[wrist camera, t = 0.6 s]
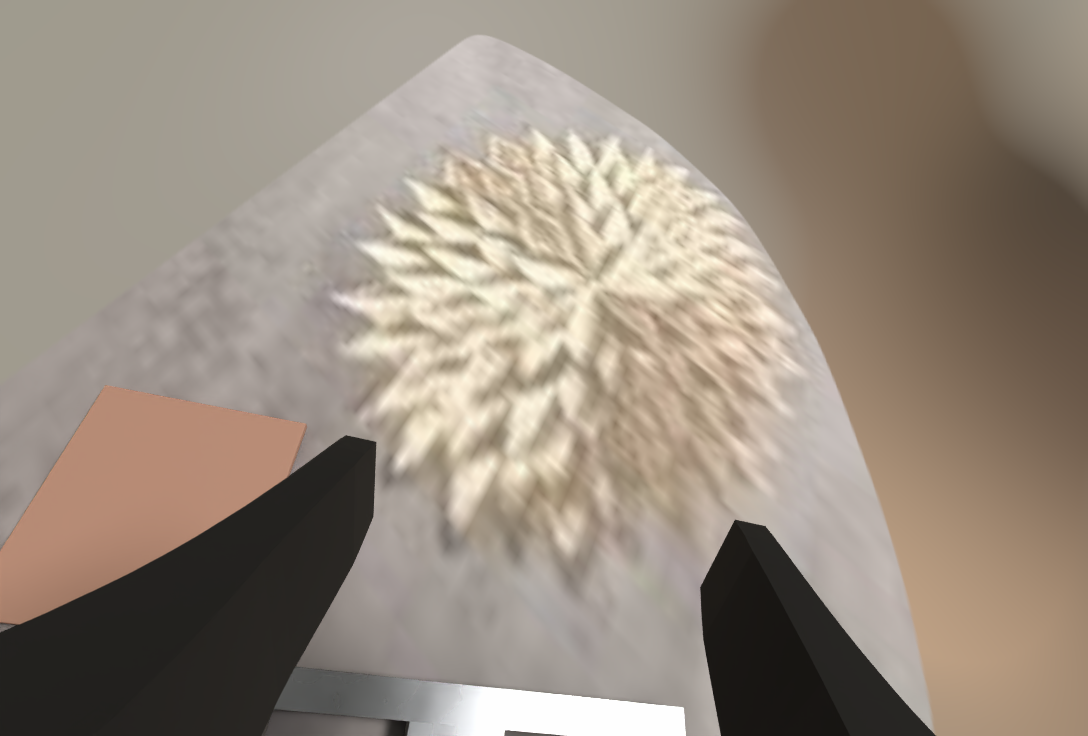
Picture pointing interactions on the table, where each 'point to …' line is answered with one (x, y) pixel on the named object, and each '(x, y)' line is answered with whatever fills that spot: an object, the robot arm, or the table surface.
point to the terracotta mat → (136, 493)
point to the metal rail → (471, 707)
